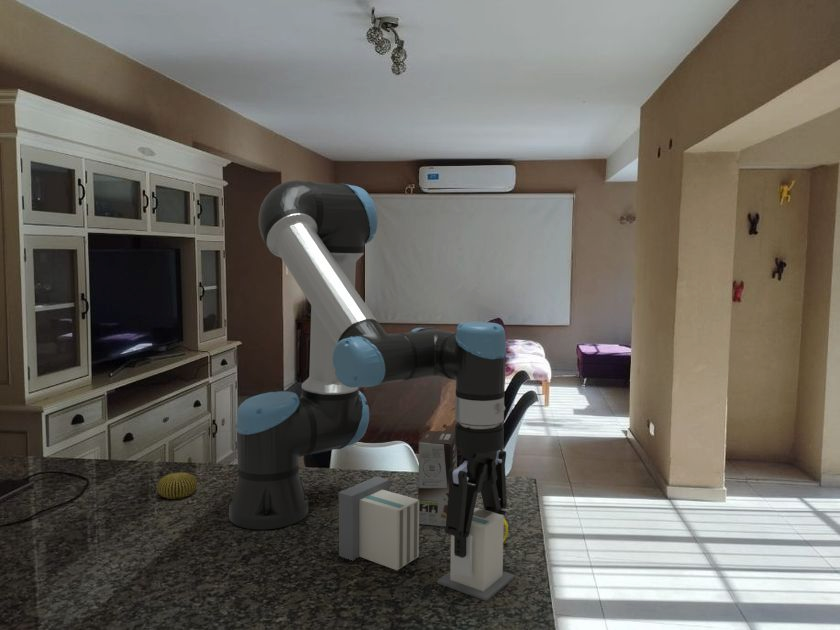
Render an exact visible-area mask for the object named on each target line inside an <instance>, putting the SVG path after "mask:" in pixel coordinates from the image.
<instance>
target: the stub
mask: <svg viewBox="0 0 840 630" xmlns="http://www.w3.org/2000/svg"><path fill="white" fill-rule="evenodd" d="M504 518H505V516H504V515H501V514H497V513H493V512H490V511H486V510H485V509H481V508H478V507H475V508H474V513H473V518H472V523H471V528H470V533H469V534H470V535H473V543H472V577H470V578H467V577H465V576H462V575H459V574H456V573H454V560H455V554H454V547H455V546H454V536H453V535H450V570H449V572H450V580H452V581H455V582H458V583H461V584H464V585H467V586H469V587H472V588H475V589H478V590H481V591H485V590H486V589H487V588H488V587H489V586H491V585H492V584H493V583H494V582H496V581H497V580H498V579H499V578H501V577H502V574H503V571H504V568H503V567H504V563H503V562H504V542H503V536H504V528H505V526H504Z"/></svg>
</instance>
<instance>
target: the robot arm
mask: <svg viewBox="0 0 840 630" xmlns="http://www.w3.org/2000/svg"><path fill="white" fill-rule="evenodd" d="M258 229H259V233H260V235H261V239H262V240H263V243H265V245H266V247H267V248H268V251H270V253H271V254H272V255H274V256H276V257H279V258H280V259H281V260H282V262H283V263H284V265H285V267H286V268H287V269H288V271H289V272H290V273H291V276H292V277H293V279H294V281H295V282H296V284H297V285H298V287H299V288H300V290H301V291H302V293H303V295H304V296H305V298H306V300H307V301H308V302H309V304H310V307H311V310H310V312H311V313H310V341H309V372H308V373H309V375H308V376H309V377H307V379H306V380H304V381H303V382H302V383H301V391H300V392H301V393H300V394H301V395H300V396H298V395H297V393H295V392H293V391H287V390H285V391H284V390H281V391H275V392H274V391H269V392H265V393H260V394H257V395H253V396H251V397H249V398H247V399H245V400H244V401H243V402H242V403H240V405H239V406H238V409H237V415H236V424H235V429H236V447H237V448H236V449H237V480H236V483H235V487H234V491H233V495H232V499H231V501H230V503H229V507H228V513H229V514H228V516H229V517H228V518H229V521H230V522H231V523H232V524H234V525H235V526H237V527H240V528H244V529H249V530H274V529H280V528H285V527H289V526H291V525H294V524H297V523H299V522H301V521H302V520H303V519H305V518H306V517H308V515H309V498H308V496H307V495H306V492H305V488H304V485H303V481H302V478H301V476H300V457H305V456H309V455H312V454H319V453H324V452H329V451H333V450H341V449H344V448H346V447H349V446H353V445H355V444H357V443H358V442H359V441H360V440H362V438H363V437H364V436H365V434H366V432H367V429H368V427H369V426H368V425H369V422H370V408H369V405H368V404H367V403H368V401H367V398H366V397H365V394H364V393H362V391H360V390H359V388H365V387H366V388H367V387H368V388H371V387H376V386H378V385H385V384H390V383H396V382H403V381H404V382H405V381H412V380H419V379H424V378H431V377H440V378H445V379H450V380H453V381H455V402H454V403H455V404H454V405H455V406H454V419H455V421H456V423H455V424H454V432H455V446H456V447H457V450H459V452H460V453H461V455H460V456H461V457H460V461H459V466H457V469H452V468H450V469H449V472H448V475H449V495H448V506H447V517H446V527H444V528H445V529H444V531H445V532H444V533H446V534H447V535H450V536H451V535H453V536H454V546H455V547H454V554H455V560H454V573H456V574H459V575H462V576H465V577H467V578H470V577H472V543H473V535H470V534H469V533H470V528H471V523H472V518H473V513H474V508H476V502H477V498H478V494H479V492H480V494H481V498H482V499H481V500H482V502H483V510H486V511H490V512H493V513H497V514H501V515H504V517H505V516H506V513H507V512H506V510H502V509H506V508H507V506H508V505H507V504H508V502H507V501H508V500H507V479H506V458H507V451H505V450H502V449H503V447H504V437H505V436H504V432H505V430H504V429H505V427H504V425H503V424H502V422H504V420H505V419H504V413H505V411H506V406H505V377H506V375H505V374H506V359H507V358H506V356H507V349H506V348H507V347H506V330H505V329H504V327H503V326H502V324H499V323H496V322H491V321H490V322H489V321H488V322H485V321H466V322H461V323H459V324H458V325H457V327H456V332H454V331H449V330H448V331H447V330H443V329H437V328H436V327H416V328H413V329H412V330H410V331H409V332H397V333H387V332H386V330H385V329H384V327H382V325H381V324H380V322H378V320H377V318H376V317H375V316H374V314H373V312H371V310H370V308H369V307H368V306H367V304H366V303H365V301H364V300H363V298H362V297H361V295H360V294H359V293H358V291H357V290H356V267H357V265H356V264H357V261H358V260H359V259H360V258H361V257H362V256H364V254H365V245H366V244H369V243H370V242H371V241H372V240H373V239H374V237H375V236H374V235H376V233H377V230H378V212H377V208H376V205H375V203H374V200H373V198H372V197H371V196H370V194H369V192H367V190H365V189H364V188H362V187H359V186H357V185H351V184H347V183H341V182H340V183H335V182H334V183H333V182H332V183H331V182H320V181H319V182H318V181H306V180H299V179H298V180H288V181H285V182H282V183H281V184H280V183H279V184H278V185H277V186H275V187H274V188H272V189H271V190H270V192H269V193H268V194H267V195H266V196H265V198H264V199H263V201H262V203H261V205H260V208H259V212H258Z"/></svg>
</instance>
